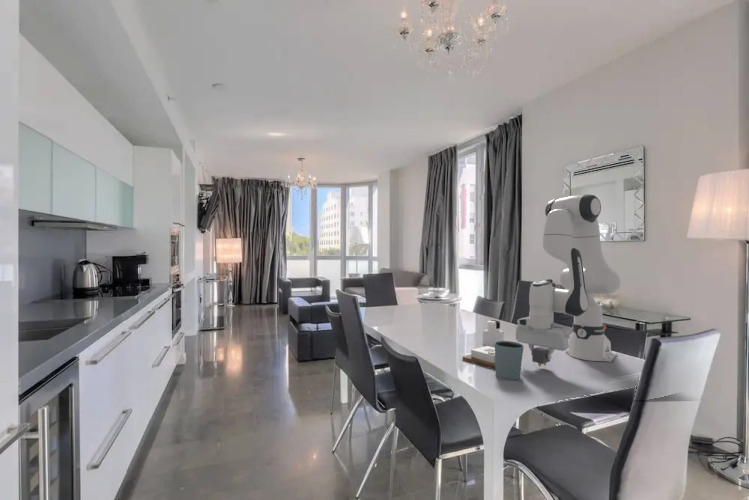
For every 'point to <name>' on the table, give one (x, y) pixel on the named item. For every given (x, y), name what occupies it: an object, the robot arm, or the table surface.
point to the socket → (484, 354)
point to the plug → (540, 355)
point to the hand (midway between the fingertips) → (541, 357)
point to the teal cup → (508, 359)
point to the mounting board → (479, 361)
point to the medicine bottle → (492, 333)
